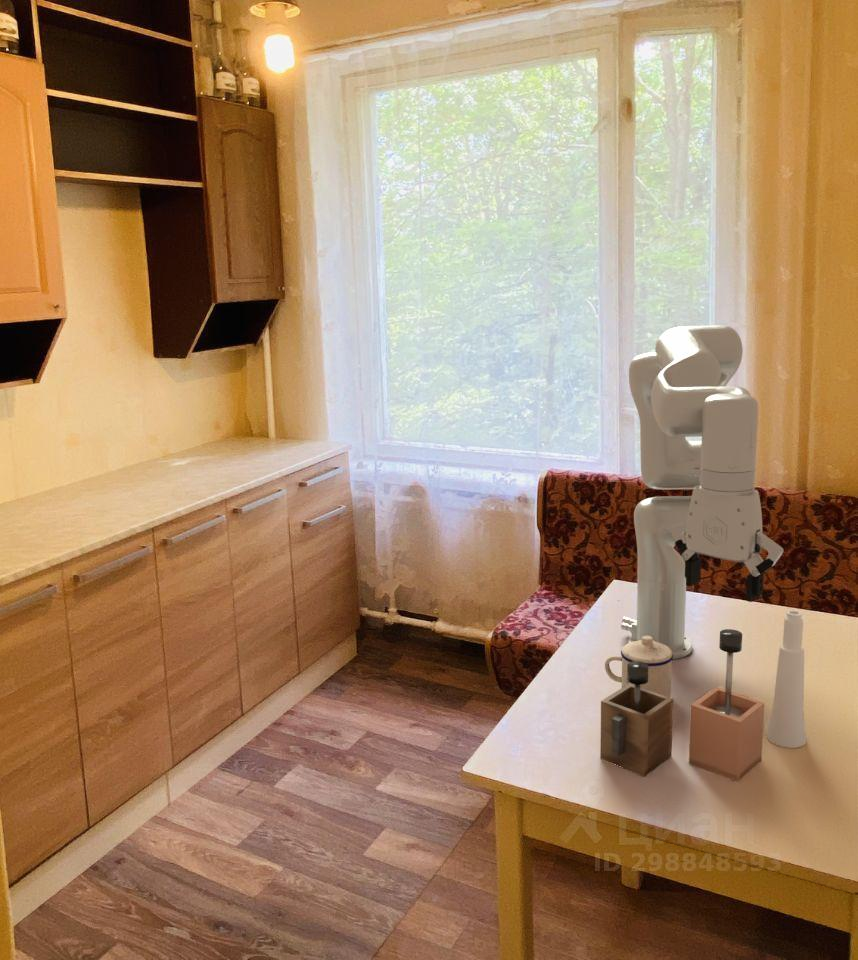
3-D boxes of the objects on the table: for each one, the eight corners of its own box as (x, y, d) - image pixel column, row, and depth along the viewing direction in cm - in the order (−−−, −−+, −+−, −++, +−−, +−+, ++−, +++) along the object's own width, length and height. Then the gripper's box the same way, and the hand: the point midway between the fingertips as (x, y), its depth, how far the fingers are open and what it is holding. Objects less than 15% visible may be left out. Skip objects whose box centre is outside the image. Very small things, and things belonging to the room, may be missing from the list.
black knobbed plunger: (701, 718, 136) (704, 634, 133) (718, 705, 140) (722, 623, 136) (735, 730, 132) (740, 644, 129) (752, 717, 136) (757, 632, 132)
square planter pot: (688, 763, 138) (690, 704, 135) (719, 738, 144) (722, 682, 142) (737, 782, 132) (740, 722, 130) (767, 755, 139) (770, 698, 136)
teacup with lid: (675, 690, 161) (677, 630, 159) (667, 712, 153) (669, 650, 151) (609, 680, 166) (610, 622, 163) (599, 702, 158) (600, 641, 155)
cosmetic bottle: (807, 733, 145) (816, 608, 140) (805, 751, 140) (814, 622, 135) (768, 726, 147) (775, 603, 142) (764, 744, 142) (771, 616, 137)
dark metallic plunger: (611, 748, 139) (612, 666, 136) (630, 734, 143) (632, 654, 140) (642, 760, 135) (643, 677, 132) (661, 746, 139) (663, 664, 136)
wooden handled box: (671, 756, 140) (673, 698, 137) (637, 782, 133) (638, 722, 131) (628, 739, 145) (629, 683, 143) (593, 763, 138) (593, 705, 136)
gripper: (660, 476, 131) (657, 584, 135) (772, 494, 119) (766, 613, 122) (687, 467, 136) (683, 572, 140) (797, 483, 124) (790, 598, 127)
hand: (722, 591), depth 131 cm, fingers open, 9 cm apart
